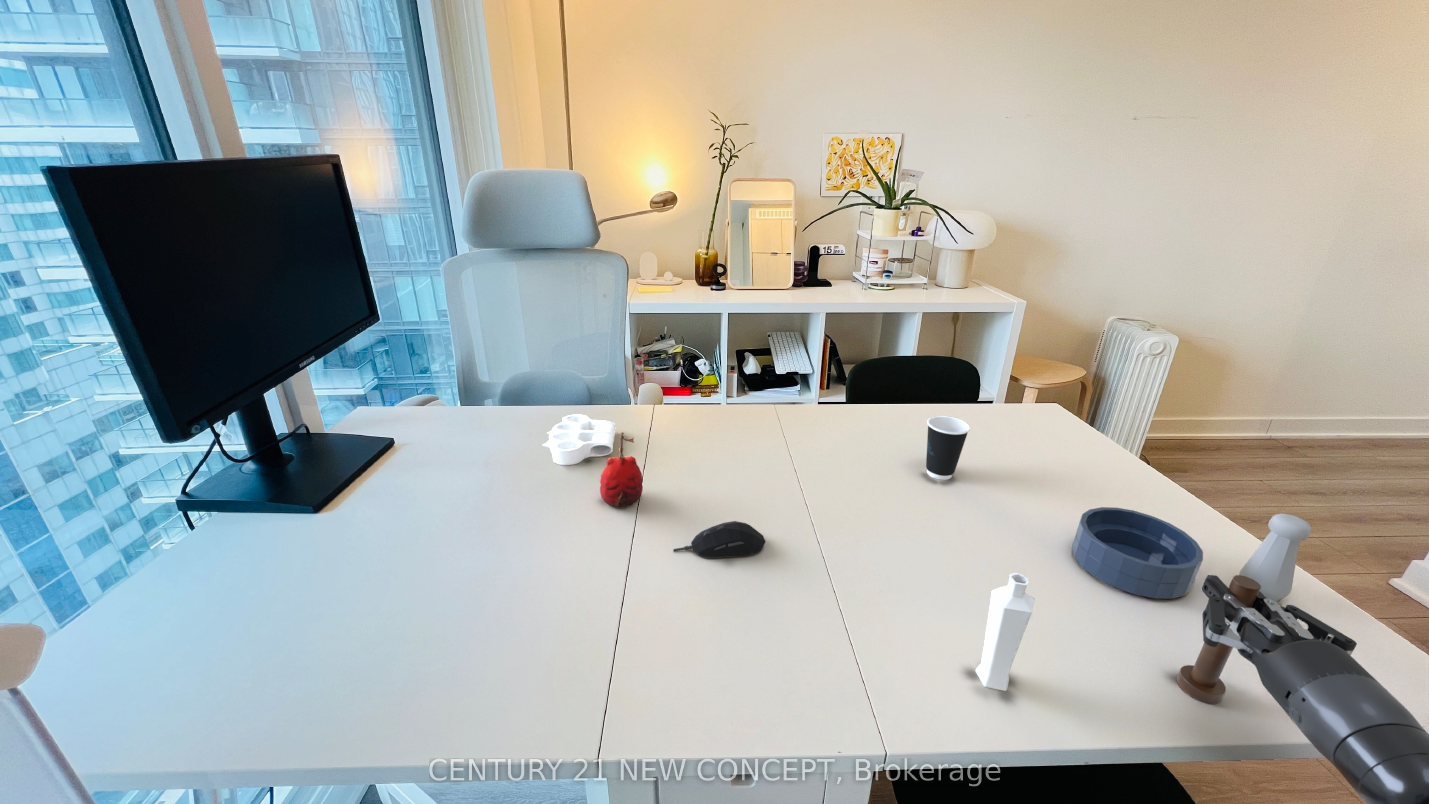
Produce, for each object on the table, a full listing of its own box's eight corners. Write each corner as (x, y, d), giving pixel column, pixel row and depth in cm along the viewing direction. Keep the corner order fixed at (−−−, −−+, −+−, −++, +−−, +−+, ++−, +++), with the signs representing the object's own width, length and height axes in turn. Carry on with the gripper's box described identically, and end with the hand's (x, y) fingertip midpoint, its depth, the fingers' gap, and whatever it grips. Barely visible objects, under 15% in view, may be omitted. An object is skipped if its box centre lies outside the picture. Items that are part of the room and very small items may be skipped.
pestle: (1221, 686, 72) (1271, 580, 66) (1222, 710, 69) (1275, 601, 63) (1176, 668, 75) (1221, 564, 69) (1175, 691, 72) (1222, 584, 65)
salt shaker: (1295, 607, 85) (1334, 532, 80) (1256, 607, 85) (1292, 531, 80) (1261, 580, 91) (1294, 508, 86) (1223, 580, 91) (1255, 507, 86)
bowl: (1190, 562, 95) (1203, 530, 92) (1188, 617, 83) (1203, 583, 81) (1079, 526, 103) (1088, 496, 101) (1063, 572, 92) (1073, 539, 89)
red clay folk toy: (640, 488, 112) (637, 416, 106) (646, 508, 106) (643, 432, 100) (599, 493, 110) (594, 419, 105) (602, 514, 104) (598, 437, 98)
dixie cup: (968, 476, 119) (979, 426, 114) (944, 487, 114) (954, 436, 110) (934, 460, 125) (943, 412, 120) (910, 470, 120) (918, 421, 116)
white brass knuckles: (611, 464, 121) (537, 466, 119) (617, 426, 137) (552, 427, 136) (610, 449, 119) (535, 451, 118) (616, 413, 136) (551, 414, 135)
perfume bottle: (993, 698, 70) (1021, 597, 64) (966, 670, 74) (990, 572, 68) (1022, 687, 72) (1052, 587, 66) (994, 660, 75) (1020, 563, 70)
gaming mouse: (671, 539, 98) (671, 518, 96) (759, 532, 100) (760, 512, 98) (675, 563, 92) (675, 542, 90) (768, 555, 94) (770, 534, 93)
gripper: (1450, 688, 51) (1302, 563, 67) (1270, 665, 53) (1167, 549, 69) (1409, 749, 54) (1276, 615, 70) (1239, 725, 56) (1147, 600, 72)
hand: (1222, 582), depth 69 cm, fingers closed on pestle, 2 cm apart
